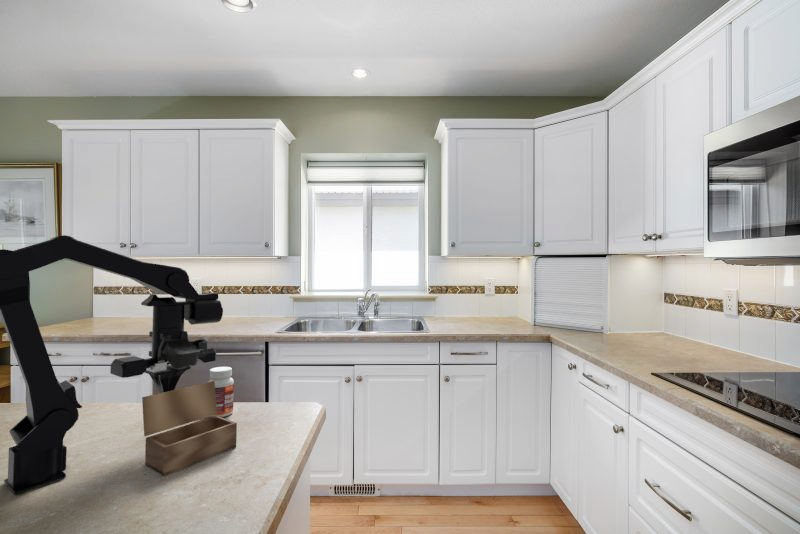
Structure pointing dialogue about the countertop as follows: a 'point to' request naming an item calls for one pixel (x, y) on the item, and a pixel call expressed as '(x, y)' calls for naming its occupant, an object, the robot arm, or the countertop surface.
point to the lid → (178, 407)
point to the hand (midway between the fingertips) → (166, 401)
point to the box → (189, 444)
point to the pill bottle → (223, 390)
